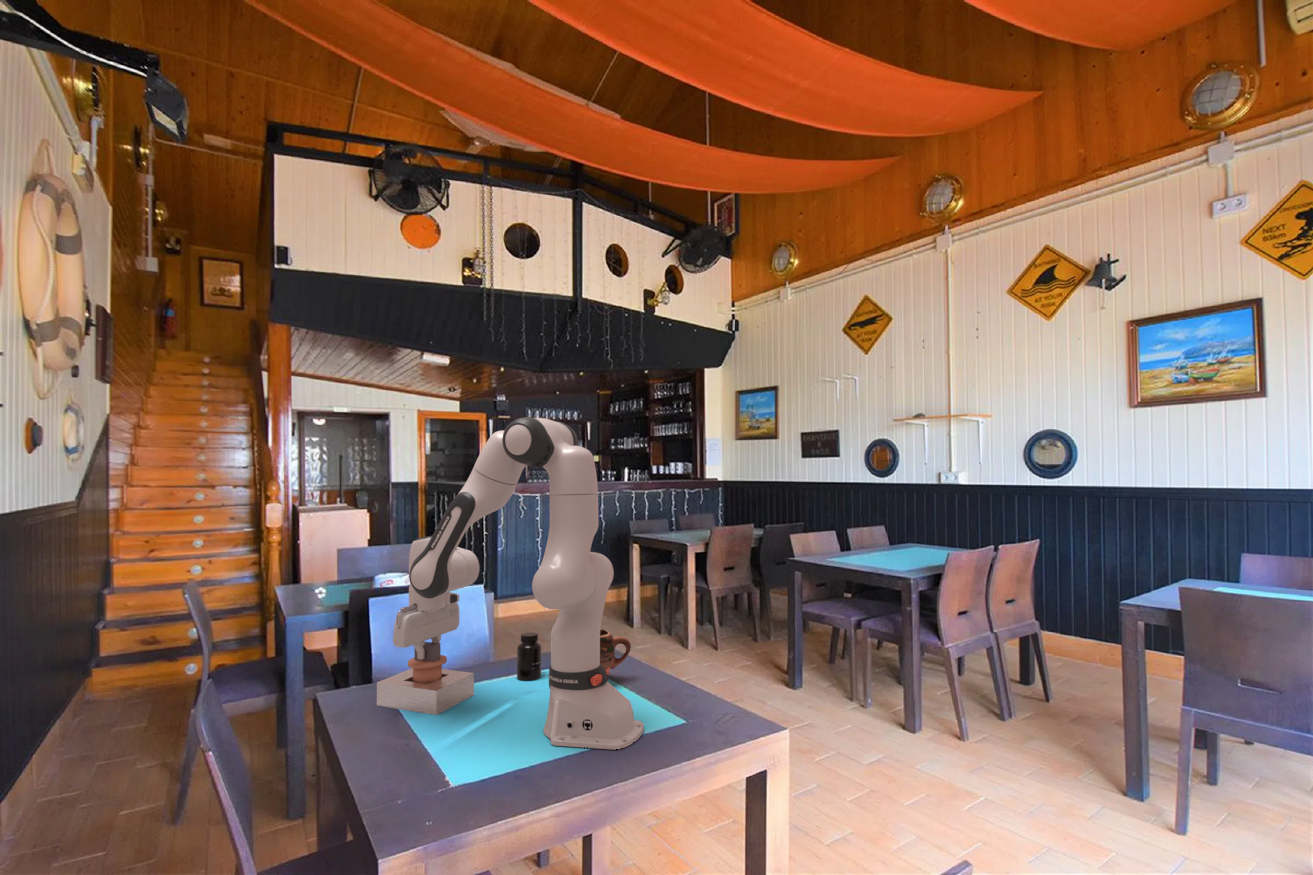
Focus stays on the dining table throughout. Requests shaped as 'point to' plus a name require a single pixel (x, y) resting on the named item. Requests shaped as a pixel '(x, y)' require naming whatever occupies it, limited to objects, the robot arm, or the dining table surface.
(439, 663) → the end cover
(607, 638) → the brown ceramic cup shape
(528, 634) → the supplement bottle
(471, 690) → the housing
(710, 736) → the dining table surface
